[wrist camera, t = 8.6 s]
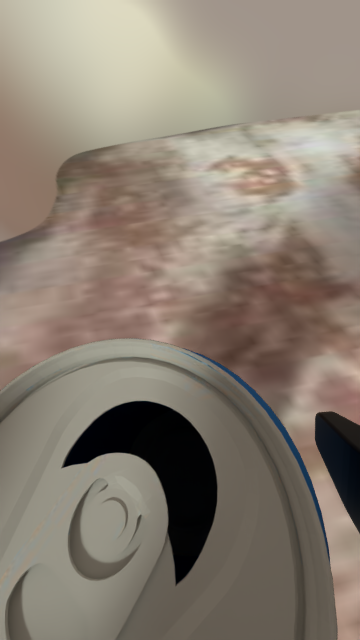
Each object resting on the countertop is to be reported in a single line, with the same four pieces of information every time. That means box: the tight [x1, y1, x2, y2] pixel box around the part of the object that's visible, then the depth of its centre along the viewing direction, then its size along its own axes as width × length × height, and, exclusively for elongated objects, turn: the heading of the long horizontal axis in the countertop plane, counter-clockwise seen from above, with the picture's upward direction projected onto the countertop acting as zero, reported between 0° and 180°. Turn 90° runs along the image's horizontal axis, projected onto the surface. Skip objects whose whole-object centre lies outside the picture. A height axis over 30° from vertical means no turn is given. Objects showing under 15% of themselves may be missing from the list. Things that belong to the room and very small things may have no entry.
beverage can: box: [0, 338, 337, 640], centre depth 8 cm, size 6×6×12 cm
